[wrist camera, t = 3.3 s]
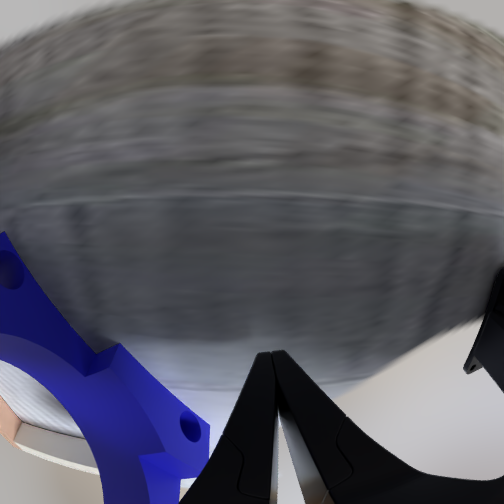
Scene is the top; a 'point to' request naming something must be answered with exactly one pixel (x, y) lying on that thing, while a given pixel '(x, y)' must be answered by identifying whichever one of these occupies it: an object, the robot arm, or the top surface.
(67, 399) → the blue half clamp
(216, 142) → the top surface
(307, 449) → the robot arm
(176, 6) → the top surface
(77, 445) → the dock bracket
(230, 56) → the top surface
